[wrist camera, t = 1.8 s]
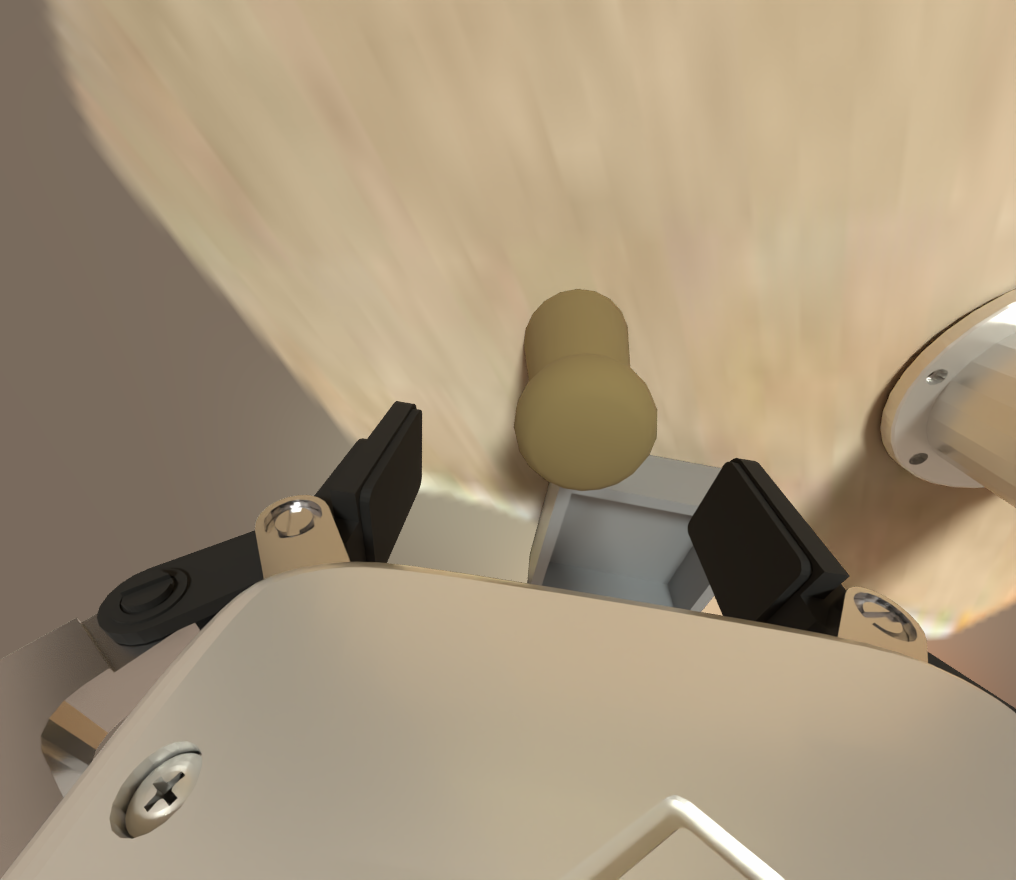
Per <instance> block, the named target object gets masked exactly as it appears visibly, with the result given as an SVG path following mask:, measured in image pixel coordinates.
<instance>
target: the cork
mask: <svg viewBox="0 0 1016 880" xmlns="http://www.w3.org/2000/svg"><path fill="white" fill-rule="evenodd" d="M524 349H525V356H526V364H527V371H528V378H529V382H528V383H527V385H526V387H525V389H524V391H523V393H522V395H521V396H520V398H519V400H518V404H517V408H516V415H515V422H514V429H515V434H516V438H517V442H518V446H519V450H520V453H521V454H522V456H523V457H524V459H525V460H526V462H527V463H528V465H529V466H530V467H531V468H532V469H533V470H534V471H535V472H537V473H538V474H539V475H540V476H542V477H543V478H544V479H545V480H547V481H548V482H550V483H553V484H555V485H557V486H560V487H562V488H565V489H572V490H578V491H589V490H600V489H603V488H606V487H610V486H613V485H616V484H618V483H620V482H621V481H623V480H624V479H626V478H628V477H629V476H631V475H632V474H633V473H634V472H635V471H636V470H637V469H638V468H639V467H640V465H641V464H642V463H643V462H644V461H645V460H646V458H647V457H648V456H649V455H650V452H651V450H652V447H653V445H654V442H655V440H656V437H657V408H656V406H655V403H654V401H653V398H652V396H651V393H650V391H649V389H648V387H647V385H646V383H645V382H644V381H643V380H642V379H641V378H640V377H639V376H638V375H637V374H636V373H635V372H634V371H633V370H632V369H631V368H630V357H629V342H628V327H627V324H626V322H625V319H624V317H623V314H622V312H621V311H620V309H619V308H618V307H617V306H616V305H615V304H614V303H613V302H612V301H611V300H610V299H609V298H607V297H605V296H603V295H601V294H599V293H597V292H595V291H589V290H581V289H575V290H570V291H565V292H560V293H558V294H557V295H555V296H553V297H551V298H549V299H548V300H546V301H544V302H543V304H542V305H541V306H540V307H539V308H538V309H537V310H536V311H535V312H534V313H533V315H532V317H531V319H530V321H529V323H528V325H527V327H526V332H525V339H524Z"/></svg>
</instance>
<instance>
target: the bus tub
mask: <svg viewBox="0 0 1016 880" xmlns="http://www.w3.org/2000/svg"><path fill="white" fill-rule="evenodd" d="M721 469H722V468H716V467H711V466H705V465H700V464H695V463H689V462H684V461H678V460H673V459H668V458H662V457H657V456H651V455H649V456H648V457H647V458H646V460H645V461H644V462H643V463H642V464H641V465H640V467H639V468H638V469H637V470H636V471H635V472H634V473H633V474H632V475H631V476H629V477H628V478H626V479H624V480H623V481H621V482H620V483H618V484H616V485H613V486H610V487H606V488H603V489H600V490H589V491H578V490H572V489H565V488H562V487H560V486H557V485H555V484H553V483H550V482H549V486H548V490H547V493H546V497H545V501H544V504H543V508H542V512H541V515H540V519H539V523H538V526H537V530H536V534H535V537H534V541H533V545H532V549H531V552H530V559H529V570H528V582H527V583H528V584H534V585H540V586H547V587H553V588H559V589H565V590H571V591H577V592H584V593H590V594H596V595H602V596H608V597H614V598H620V599H626V600H632V601H638V602H644V603H650V604H656V605H662V606H668V607H674V608H680V609H686V610H692V611H698V612H701V611H702V610H703V609H704V608H705V606H706V605H707V604H708V603H709V601H710V600H711V599H712V598H713V597H714V593H713V591H712V589H711V586H710V584H709V582H708V579H707V577H706V575H705V572H704V570H703V567H702V565H701V563H700V560H699V558H698V556H697V553H696V551H695V549H694V546H693V544H692V542H691V539H690V537H689V534H688V530H687V529H688V523H689V521H690V519H691V518H692V516H693V514H694V513H695V511H696V510H697V508H698V506H699V505H700V503H701V501H702V500H703V498H704V496H705V495H706V493H707V492H708V490H709V488H710V487H711V485H712V483H713V482H714V480H715V479H716V477H717V475H718V474H719V472H720V470H721Z"/></svg>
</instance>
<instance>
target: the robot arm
mask: <svg viewBox="0 0 1016 880" xmlns="http://www.w3.org/2000/svg"><path fill="white" fill-rule="evenodd" d="M880 429H881V435H882V442H883V444H884V446H885V448H886V450H887V452H888V454H889V455H890V456H891V457H892V458H893V459H894V460H895V461H896V462H897V463H898V464H899V465H900V466H902V467H903V468H904V469H906V470H907V471H909V472H910V473H911V474H913V475H914V476H916V477H917V478H920V479H923V480H925V481H928V482H930V483H933V484H938V485H944V486H949V487H961V488H982V487H985V488H987V489H988V490H990V491H991V492H993V493H994V494H996V495H997V496H999V497H1000V498H1002V499H1003V500H1005V501H1006V502H1008V503H1009V504H1011V505H1012V506H1014V507H1015V508H1016V289H1014V290H1012V291H1010V292H1008V293H1006V294H1004V295H1002V296H1000V297H998V298H997V299H995V300H993V301H991V302H989V303H988V304H986V305H984V306H982V307H981V308H979V309H977V310H975V311H974V312H972V313H971V314H969V315H968V316H966V317H965V318H964V319H962V320H961V321H959V322H958V323H957V324H955V325H954V326H952V327H951V328H949V329H948V330H947V331H945V332H944V333H943V334H942V335H941V336H940V337H938V338H937V339H936V340H935V341H934V342H933V343H932V344H930V345H929V346H928V347H927V348H926V349H925V350H924V351H923V352H921V354H920V355H919V356H918V357H917V358H916V359H915V360H914V362H913V363H912V364H911V365H910V366H909V367H908V368H907V369H906V371H905V372H904V373H903V374H902V376H901V377H900V379H899V381H898V382H897V384H896V385H895V387H894V388H893V390H892V391H891V393H890V395H889V398H888V400H887V403H886V405H885V408H884V410H883V414H882V421H881V427H880ZM421 479H422V411H421V410H418V409H416V405H415V404H411V403H405V402H399V401H396V402H395V403H394V404H393V405H392V407H391V408H390V409H389V411H388V412H387V413H386V415H385V416H384V417H383V419H382V420H381V421H380V423H379V424H378V425H377V427H376V428H375V429H374V431H373V432H372V433H371V435H370V436H369V437H368V439H363V438H362V439H359V440H358V441H357V442H356V443H355V445H354V446H353V447H352V449H351V450H350V451H349V452H348V454H347V455H346V456H345V457H344V459H343V460H342V461H341V463H340V464H339V465H338V466H337V468H336V469H335V470H334V471H333V473H332V474H331V476H330V477H329V478H328V479H327V480H326V482H325V483H324V484H323V486H322V487H321V488H320V490H319V491H318V492H317V493H316V494H315V496H310V495H297V496H291V497H287V498H284V499H281V500H279V501H276V502H275V503H273V504H271V505H270V506H268V507H267V508H266V509H265V510H264V511H263V512H261V513H260V515H259V516H258V518H257V520H256V523H255V531H252V532H250V533H247V534H244V535H241V536H238V537H235V538H233V539H230V540H227V541H224V542H222V543H219V544H216V545H213V546H211V547H208V548H205V549H202V550H199V551H197V552H194V553H191V554H188V555H186V556H183V557H180V558H177V559H175V560H172V561H169V562H166V563H163V564H160V565H158V566H155V567H152V568H149V569H147V570H145V571H143V572H140V573H138V574H136V575H134V576H132V577H131V578H129V579H127V580H126V581H125V582H123V583H121V584H120V585H119V586H118V587H116V588H115V589H114V590H113V591H112V592H111V593H110V594H109V595H108V596H107V597H106V599H105V600H104V601H103V603H102V604H101V606H100V608H99V611H98V613H97V614H96V615H94V616H92V617H90V618H89V619H87V620H85V621H83V622H80V621H79V620H78V619H77V618H75V619H73V620H71V621H70V622H68V623H66V624H64V625H62V626H60V627H59V628H57V629H55V630H53V631H52V632H50V633H48V634H46V635H44V636H42V637H40V638H39V639H37V640H35V641H33V642H32V643H30V644H28V645H26V646H24V647H22V648H21V649H19V650H17V651H15V652H13V653H11V654H10V655H8V656H6V657H4V658H2V659H1V660H0V880H1016V709H1015V708H1014V707H1012V706H1011V705H1009V704H1008V703H1006V702H1005V701H1003V700H1001V699H1000V698H998V697H997V696H995V695H994V694H992V693H991V692H989V691H988V690H986V689H984V688H983V687H981V686H980V685H978V684H977V683H975V682H974V681H972V680H971V679H969V678H967V677H966V676H964V675H963V674H961V673H960V672H958V671H957V670H955V669H954V668H952V667H950V666H949V665H947V664H946V663H944V662H943V661H941V660H940V659H938V658H936V657H935V656H933V655H932V654H930V653H929V652H927V640H926V637H925V633H924V631H923V630H922V628H921V627H920V626H919V624H918V623H917V622H916V621H915V620H914V618H913V617H912V616H911V615H910V614H909V613H908V612H906V611H905V610H904V609H903V608H901V607H900V606H899V605H898V604H896V603H895V602H893V601H892V600H890V599H889V598H887V597H886V596H884V595H881V594H879V593H877V592H875V591H873V590H870V589H867V588H864V587H855V586H854V587H851V588H848V589H847V590H845V589H844V587H843V586H842V585H841V583H842V582H844V581H845V580H846V579H847V578H848V577H849V575H848V573H847V572H846V571H845V570H844V568H843V567H842V566H841V565H840V563H839V562H838V561H837V560H836V558H835V557H834V556H833V555H832V553H831V552H830V551H829V550H828V548H827V547H826V546H825V545H824V544H823V542H822V541H821V540H820V539H819V537H818V536H817V535H816V534H815V532H814V531H813V530H812V529H811V527H810V526H809V525H808V524H807V522H806V521H805V520H804V519H803V517H802V516H801V515H800V514H799V513H798V511H797V510H796V509H795V508H794V506H793V505H792V504H791V503H790V501H789V500H788V499H787V498H786V496H785V495H784V494H783V493H782V491H781V490H780V489H779V488H778V486H777V485H776V484H775V483H774V482H773V480H772V479H771V478H770V477H769V475H768V474H767V473H766V472H765V470H764V469H763V468H762V467H761V465H760V464H759V463H758V462H756V461H751V460H745V459H739V458H735V459H733V460H731V461H730V462H727V463H725V464H724V465H723V467H722V469H721V470H720V472H719V474H718V475H717V477H716V479H715V480H714V482H713V483H712V485H711V487H710V488H709V490H708V492H707V493H706V495H705V496H704V498H703V500H702V501H701V503H700V505H699V506H698V508H697V510H696V511H695V513H694V514H693V516H692V518H691V519H690V521H689V523H688V529H687V530H688V534H689V537H690V539H691V542H692V544H693V546H694V549H695V551H696V553H697V556H698V558H699V560H700V563H701V565H702V567H703V570H704V572H705V575H706V577H707V579H708V582H709V584H710V586H711V589H712V591H713V593H714V596H715V598H716V600H717V603H718V605H719V607H720V610H721V612H722V615H723V616H721V615H715V614H709V613H703V612H698V611H692V610H686V609H680V608H674V607H668V606H662V605H656V604H650V603H644V602H638V601H632V600H626V599H620V598H614V597H608V596H602V595H596V594H590V593H584V592H577V591H571V590H565V589H559V588H553V587H547V586H540V585H534V584H528V583H522V582H515V581H509V580H503V579H496V578H490V577H484V576H478V575H471V574H465V573H457V572H451V571H443V570H437V569H430V568H422V567H415V566H409V565H399V564H389V563H387V561H388V559H389V556H390V554H391V552H392V550H393V547H394V545H395V543H396V541H397V538H398V536H399V534H400V531H401V529H402V527H403V525H404V522H405V520H406V518H407V516H408V513H409V511H410V509H411V507H412V504H413V502H414V500H415V497H416V495H417V493H418V491H419V488H420V485H421ZM128 715H129V716H128ZM127 716H128V717H127ZM125 717H127V718H126V719H125V721H124V722H123V723H122V724H121V726H120V727H119V728H118V729H117V730H116V732H115V733H114V734H113V736H112V737H111V738H110V739H109V741H108V742H107V743H106V745H105V746H104V747H103V748H102V749H101V751H100V752H99V753H98V755H97V756H96V757H95V759H94V760H93V757H94V754H95V751H96V749H97V748H98V746H99V745H100V744H101V742H102V741H103V739H104V738H105V737H106V735H107V734H108V733H109V732H110V731H111V730H112V729H113V728H114V727H115V726H116V725H117V724H118V723H120V722H121V721H122V720H123V719H124V718H125ZM199 754H201V755H202V757H201V756H200V755H199ZM92 760H93V761H92ZM181 771H182V772H183V773H182V774H181Z"/></svg>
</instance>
